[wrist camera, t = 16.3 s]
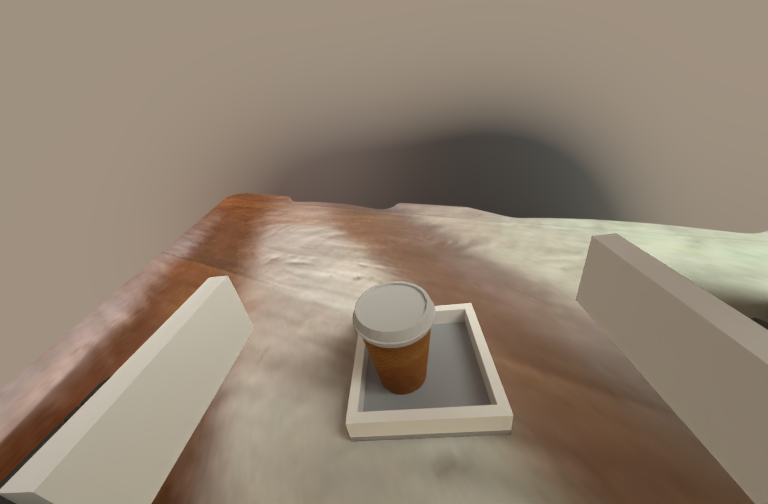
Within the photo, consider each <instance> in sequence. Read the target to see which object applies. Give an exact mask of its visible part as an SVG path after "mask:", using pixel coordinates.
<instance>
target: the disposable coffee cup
mask: <svg viewBox="0 0 768 504" xmlns="http://www.w3.org/2000/svg"><path fill="white" fill-rule="evenodd" d="M435 314H436V313H435V306H434V304H433V302H432V301H431V299H430V297H429V296H428V294H427V292H426V291H425V290H424V289H422V288H421V287H419V286H418V285H415V284H412V283H409V282H403V281H392V282H386V283H382V284H379V285H376V286H374V287H372V288H370V289H368V290H367V291H365V292H364V293H363V294H362V295H361V296H360V298H359V299H358V301H357V302H356V305H355V311H354V313H353V325H354V327H355V329H356V331H357V333H358V334H359V335H360V336H361V337H362V338H363V341H364V343H365V345H366V348H367V350H368V352H369V355H370V357H371V359H372V362H373V364H374V366H375V368H376V371H377V373H378V376H379V378H380V380H381V383H382V384H383V386H384V387H385V388H386V389H387V390H388V391H390V392H392V393H395V394H409V393H412V392H414V391H416V390H418V389H419V388H420V387H421V386H422V385H423V383H424V381H425V379H426V374H427V363H428V353H429V343H430V333H431V326H432V324H433V322H434V319H435Z"/></svg>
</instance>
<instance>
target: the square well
mask: <svg viewBox="0 0 768 504" xmlns="http://www.w3.org/2000/svg"><path fill="white" fill-rule="evenodd" d="M435 313H436V314H435V319H434V322H433V324H432V326H431V333H430V343H429V353H428V363H427V374H426V379H425V381H424V383H423V385H422V386H421V387H420V388H419V389H418V390H416V391H414V392H412V393H409V394H395V393H392V392H390V391H388V390H387V389H386V388H385V387H384V386H383V384H382V383H381V380H380V378H379V376H378V373H377V371H376V368H375V366H374V364H373V362H372V359H371V357H370V355H369V352H368V350H367V348H366V345H365V343H364V341H363V338H362V337H361V336H360V335H359V334H358V338H357V345H356V352H355V359H354V366H353V373H352V380H351V387H350V394H349V401H348V408H347V416H346V423H345V424H346V427H347V430H348V433H349V436H350V438H351V441H369V440H391V439H414V438H436V437H459V436H482V435H504V434H511V428H512V422H513V416H514V415H513V413H512V410H511V407H510V405H509V402H508V399H507V397H506V394H505V392H504V389H503V386H502V384H501V381H500V378H499V376H498V373H497V370H496V368H495V365H494V362H493V360H492V357H491V354H490V352H489V349H488V346H487V344H486V341H485V339H484V336H483V333H482V331H481V328H480V325H479V323H478V320H477V317H476V315H475V312H474V309H473V307H472V304H471V303H465V304H454V305H442V306H435Z"/></svg>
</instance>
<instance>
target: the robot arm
mask: <svg viewBox="0 0 768 504" xmlns="http://www.w3.org/2000/svg"><path fill="white" fill-rule="evenodd" d="M576 300H577V301H578V302H579V304H580V305H581V306H582V307H583V308H584V309H585V310H586V312H587V313H588V314H589V315H590V316H591V317H592V318H593V320H594V321H595V322H596V323H597V324H598V325H599V326H600V328H601V329H602V330H603V331H604V332H605V333H606V334H607V336H608V337H609V338H610V339H611V340H612V341H613V342H614V344H615V345H616V346H617V347H618V348H619V349H620V350H621V352H622V353H623V354H624V355H625V356H626V357H627V358H628V359H629V361H630V362H631V363H632V364H633V365H634V366H635V367H636V369H637V370H638V371H639V372H640V373H641V374H642V375H643V377H644V378H645V379H646V380H647V381H648V382H649V383H650V385H651V386H652V387H653V388H654V389H655V390H656V391H657V393H658V394H659V395H660V396H661V397H662V398H663V399H664V401H665V402H666V403H667V404H668V405H669V406H670V407H671V409H672V410H673V411H674V412H675V413H676V414H677V415H678V416H679V418H680V419H681V420H682V421H683V422H684V423H685V424H686V426H687V427H688V428H689V429H690V430H691V431H692V432H693V434H694V435H695V436H696V437H697V438H698V439H699V440H700V442H701V443H702V444H703V445H704V446H705V447H706V448H707V450H708V451H709V452H710V453H711V454H712V455H713V456H714V458H715V459H716V460H717V461H718V462H719V463H720V464H721V466H722V467H723V468H724V469H725V470H726V471H727V472H728V474H729V475H730V476H731V477H732V478H733V479H734V480H735V481H736V483H737V484H738V485H739V486H740V487H741V488H742V489H743V491H744V492H745V493H746V494H747V495H748V496H749V497H750V499H751V500H752V501H753V502H754V503H755V504H768V323H766V322H764V321H761V320H759V319H757V318H748V317H747V316H745V315H743V314H742V313H740V312H739V311H737V310H736V309H734V308H732V307H731V306H729V305H728V304H726V303H725V302H723V301H721V300H720V299H718V298H717V297H715V296H714V295H712V294H710V293H709V292H707V291H706V290H704V289H703V288H701V287H699V286H698V285H696V284H695V283H693V282H692V281H690V280H689V279H687V278H685V277H684V276H682V275H681V274H679V273H678V272H676V271H674V270H673V269H671V268H670V267H668V266H667V265H665V264H663V263H662V262H660V261H659V260H657V259H656V258H654V257H652V256H651V255H649V254H648V253H646V252H645V251H643V250H641V249H640V248H638V247H637V246H635V245H634V244H632V243H630V242H629V241H627V240H626V239H624V238H623V237H621V236H619V235H618V234H607V235H598V236H592V238H591V242H590V246H589V250H588V254H587V258H586V262H585V266H584V270H583V274H582V277H581V281H580V285H579V289H578V293H577V297H576ZM253 330H254V326H253V324H252V322H251V320H250V318H249V316H248V314H247V312H246V310H245V308H244V306H243V304H242V302H241V300H240V298H239V296H238V294H237V293H236V291H235V289H234V287H233V285H232V283H231V281H230V279H229V277H228V276H220V277H211V278H208V279H207V280H206V281H205V282H204V283H203V284H202V285H201V287H200V288H199V289H198V290H197V291H196V292H195V293H194V294H193V295H192V296H191V297H190V298H189V299H188V300H187V301H186V302H185V303H184V304H183V305H182V306H181V307H180V308H179V309H178V310H177V311H176V312H175V313H174V314H173V315H172V316H171V317H170V318H169V319H168V320H167V321H166V322H165V323H164V324H163V325H162V326H161V327H160V328H159V329H158V330H157V331H156V332H155V333H154V334H153V335H152V336H151V337H150V338H149V339H148V340H147V341H146V342H145V343H144V344H143V345H142V346H141V347H140V348H139V349H138V350H137V351H136V352H135V353H134V354H133V355H132V356H131V357H130V358H129V359H128V360H127V361H126V362H125V363H124V364H123V365H122V366H121V367H120V368H119V369H118V370H117V371H116V372H115V373H114V374H113V375H111V376H110V377H109V378H107V379H106V380H105V381H103V382H102V383H101V384H99V385H98V386H97V387H96V388H95V389H94V390H93V391H92V392H91V393H90V394H89V395H88V396H87V397H86V398H85V399H84V400H83V401H82V402H81V405H80V407H76V408H75V409H74V410H73V411H72V412H71V413H70V414H69V415H68V416H67V417H66V418H65V419H64V420H65V421H64V423H63V424H59V425H58V426H57V427H56V428H55V429H54V430H53V431H52V432H51V433H50V434H49V435H48V436H47V437H46V438H45V439H44V440H43V441H42V442H41V443H40V444H39V445H38V446H37V447H36V448H35V449H34V450H33V451H32V452H31V453H30V454H29V455H28V456H27V457H26V458H25V459H24V460H23V461H22V462H21V463H20V464H19V465H18V466H17V467H16V468H15V469H14V470H13V471H12V472H11V473H10V474H9V475H8V476H7V477H6V478H5V479H4V480H3V481H2V482H1V483H0V504H152V502H153V500H154V498H155V497H156V495H157V493H158V492H159V490H160V488H161V487H162V485H163V483H164V481H165V480H166V478H167V476H168V475H169V473H170V471H171V470H172V468H173V466H174V464H175V463H176V461H177V459H178V458H179V456H180V454H181V452H182V451H183V449H184V447H185V446H186V444H187V442H188V441H189V439H190V437H191V435H192V434H193V432H194V430H195V429H196V427H197V425H198V424H199V422H200V420H201V418H202V417H203V415H204V413H205V412H206V410H207V408H208V406H209V405H210V403H211V401H212V400H213V398H214V396H215V395H216V393H217V391H218V389H219V388H220V386H221V384H222V383H223V381H224V379H225V378H226V376H227V374H228V372H229V371H230V369H231V367H232V366H233V364H234V362H235V360H236V359H237V357H238V355H239V354H240V352H241V350H242V349H243V347H244V345H245V343H246V342H247V340H248V338H249V337H250V335H251V333H252V332H253Z"/></svg>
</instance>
